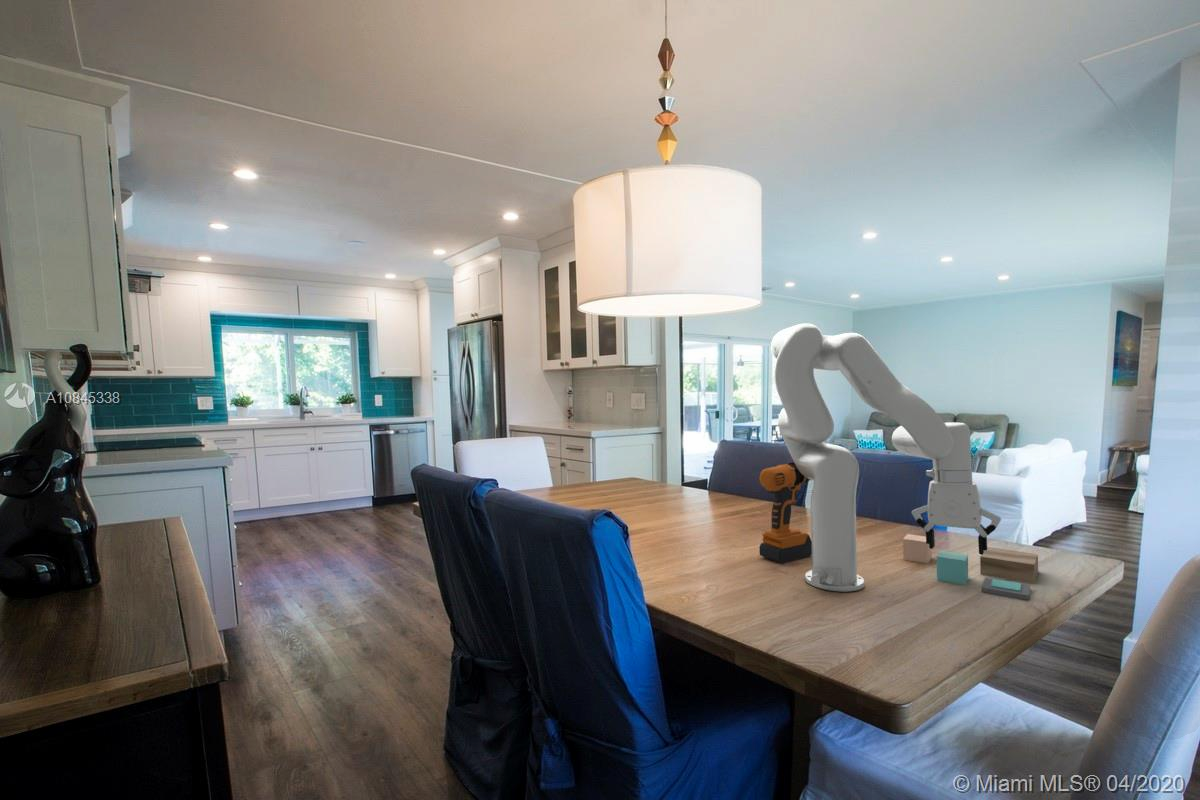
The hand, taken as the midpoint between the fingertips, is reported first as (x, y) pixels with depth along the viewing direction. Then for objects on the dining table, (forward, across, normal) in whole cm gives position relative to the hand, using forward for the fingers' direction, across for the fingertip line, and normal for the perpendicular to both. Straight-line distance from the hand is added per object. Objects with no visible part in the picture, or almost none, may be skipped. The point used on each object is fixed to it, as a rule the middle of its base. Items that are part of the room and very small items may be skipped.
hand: (956, 550), depth 126 cm
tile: (+7, +9, -3) cm, 12 cm away
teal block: (+7, -1, -1) cm, 7 cm away
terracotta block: (+7, -10, +11) cm, 16 cm away
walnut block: (+7, +9, +11) cm, 16 cm away
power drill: (+6, -37, -4) cm, 38 cm away
